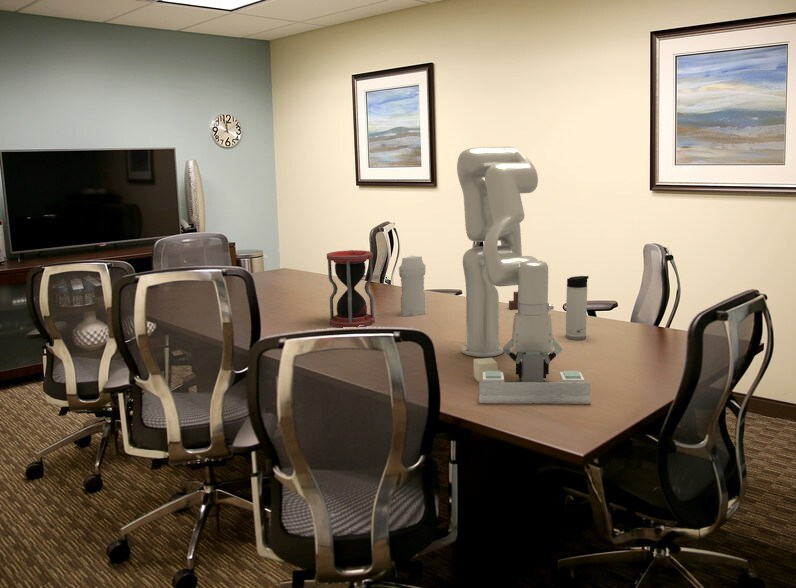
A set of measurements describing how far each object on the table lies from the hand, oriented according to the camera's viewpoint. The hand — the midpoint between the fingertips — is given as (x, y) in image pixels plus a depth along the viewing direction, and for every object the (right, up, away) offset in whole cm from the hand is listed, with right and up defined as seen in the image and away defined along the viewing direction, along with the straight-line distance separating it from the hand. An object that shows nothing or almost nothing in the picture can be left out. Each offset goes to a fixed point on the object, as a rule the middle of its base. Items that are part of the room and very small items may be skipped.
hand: (532, 376), depth 189 cm
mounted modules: (-2, -3, -10) cm, 11 cm away
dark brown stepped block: (+11, +15, +87) cm, 89 cm away
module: (0, -1, 0) cm, 1 cm away
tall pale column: (-29, +14, +80) cm, 86 cm away
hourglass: (-51, +11, +70) cm, 87 cm away
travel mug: (+22, +7, +42) cm, 48 cm away
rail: (-2, -4, -15) cm, 16 cm away
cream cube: (-12, -1, +3) cm, 12 cm away
